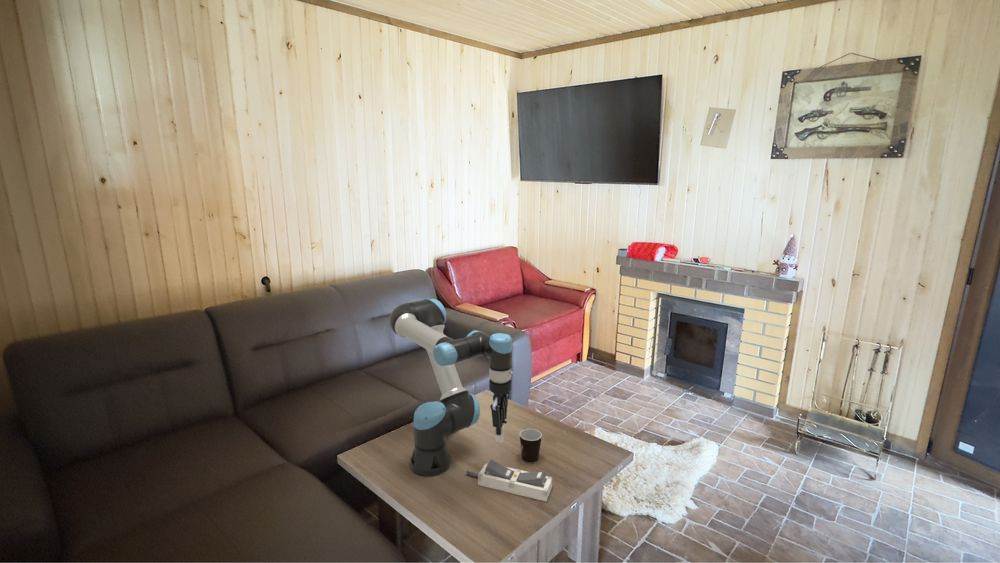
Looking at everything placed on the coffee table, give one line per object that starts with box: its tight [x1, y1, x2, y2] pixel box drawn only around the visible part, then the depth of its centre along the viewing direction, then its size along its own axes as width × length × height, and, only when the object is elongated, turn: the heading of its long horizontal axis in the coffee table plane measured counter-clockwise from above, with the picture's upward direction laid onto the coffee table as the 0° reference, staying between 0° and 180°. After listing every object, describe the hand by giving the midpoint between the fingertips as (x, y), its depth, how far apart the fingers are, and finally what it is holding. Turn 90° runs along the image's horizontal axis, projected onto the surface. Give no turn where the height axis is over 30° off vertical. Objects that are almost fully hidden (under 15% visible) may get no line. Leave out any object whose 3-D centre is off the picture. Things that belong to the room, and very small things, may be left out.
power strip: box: [465, 461, 553, 503], centre depth 167 cm, size 31×8×5 cm, turn 70°
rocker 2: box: [517, 470, 547, 485], centre depth 164 cm, size 9×5×2 cm, turn 70°
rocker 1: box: [485, 459, 513, 480], centre depth 168 cm, size 9×5×2 cm, turn 70°
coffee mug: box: [519, 428, 543, 463], centre depth 184 cm, size 12×9×10 cm
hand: (499, 441), depth 165 cm, fingers closed
